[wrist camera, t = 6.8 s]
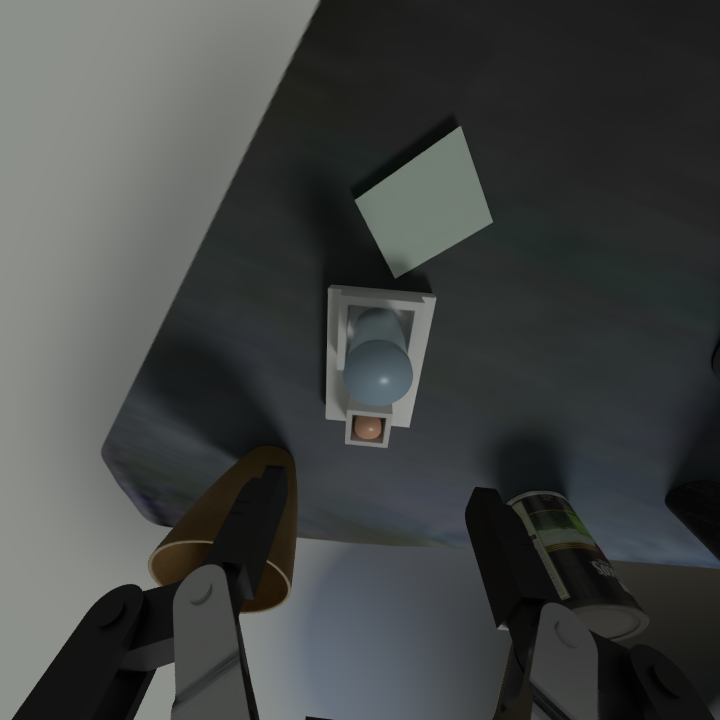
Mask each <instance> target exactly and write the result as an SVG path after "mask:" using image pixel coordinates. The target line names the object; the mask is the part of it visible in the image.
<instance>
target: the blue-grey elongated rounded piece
mask: <svg viewBox="0 0 720 720" xmlns="http://www.w3.org/2000/svg"><path fill="white" fill-rule="evenodd" d="M343 380H344V384H345V387H346V389H347V390H348V392H349V393H350V394H351V395H352V396H353V397H354V398H355V399H357V400H358V401H360V402H362V403H365V404H368V405H374V406H383V405H388V404H392V403H394V402H396V401H398V400H400V399H401V398H402V397H403V396H405V395H406V393H407V392H408V391H409V389H410V387H411V385H412V381H413V370H412V366H411V362H410V359H409V357H408V354H407V350H406V346H405V341H404V337H403V333H402V328H401V324H400V321H399V319H398V318H397V316H396V315H395V314H394V313H393V312H391V311H390V310H388V309H385V308H371V309H369V310H367V311H365V312H363V313H362V314H361V315H360V316H359V318H358V319H357V322H356V325H355V329H354V333H353V337H352V342H351V346H350V350H349V355H348V357H347V359H346V362H345V366H344V370H343Z"/></svg>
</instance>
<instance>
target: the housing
mask: <svg viewBox="0 0 720 720" xmlns="http://www.w3.org/2000/svg"><path fill="white" fill-rule="evenodd" d="M435 302H436V297H435V296H434V295H433V294H432V293H421V292H410V291H399V290H387V289H376V288H365V287H354V286H343V285H332V284H331V286H330V287H329V288H328V327H327V378H326V419H332V420H341V421H346V434H345V444H353V445H363V446H372V447H382V448H387V446H388V440H389V434H390V429H391V426H401V427H409V426H410V421H411V416H412V412H413V407H414V402H415V397H416V393H417V388H418V383H419V378H420V374H421V369H422V364H423V359H424V354H425V350H426V345H427V340H428V335H429V331H430V326H431V321H432V316H433V312H434V307H435ZM371 308H385V309H388V310H390V311H391V312H393V313H394V314H395V315H396V316H397V318H398V319H399V321H400V324H401V328H402V333H403V337H404V341H405V346H406V350H407V354H408V357H409V359H410V362H411V366H412V370H413V381H412V385H411V387H410V389H409V391H408V392H407V393H406V395H405V396H403V397H402V398H401V399H400V400H398V401H396V402H394V403H392V404H388V405H383V406H374V405H368V404H365V403H362V402H360V401H358V400H357V399H355V398H354V397H353V396H352V395H351V394H350V393H349V392H348V390H347V389H346V387H345V384H344V380H343V370H344V366H345V362H346V359H347V357H348V355H349V350H350V346H351V342H352V337H353V333H354V329H355V325H356V322H357V319H358V318H359V316H360V315H361V314H362V313H363V312H365V311H367V310H369V309H371ZM356 415H360V416H370V417H380V418H381V433H380V434H379V436H377V437H376V438H374V439H363V438H361V437H359V436H358V435H357V434H356V432H355V422H356Z"/></svg>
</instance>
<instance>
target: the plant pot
mask: <svg viewBox="0 0 720 720" xmlns="http://www.w3.org/2000/svg"><path fill="white" fill-rule="evenodd" d="M267 465H277V466H285V467H286V470H287V482H288V496H287V501H286V505H285V508H284V511H283V514H282V517H281V520H280V523H279V526H278V529H277V532H276V535H275V538H274V541H273V544H272V547H271V550H270V553H269V556H268V559H267V562H266V565H265V568H264V571H263V574H262V577H261V580H260V583H259V586H258V589H257V592H256V595H255V598H254V600H251V599H245V600H244V603H243V606H242V608H241V611H240V614H247V613H260V612H264V611H268V610H272V609H274V608H276V607H278V606H280V605H282V604H283V603H284V602H285V601H286V600H287V599H288V598H289V596H290V593H291V586H292V577H293V568H294V559H295V549H296V537H297V517H298V498H297V479H296V468H295V462H294V460H293V458H292V456H291V455H290V454H289V453H288V452H287V451H285V450H283V449H282V448H279V447H276V446H271V445H264V446H259V447H257V448H255V449H253V450H252V451H251V452H249V453H248V454H247V455H246V456H244V457H243V458H242V459H241V460H239V461H238V462H237V463H236V464H235V465H234V466H232V467H231V468H230V469H229V470H228V471H227V472H226V473H225V474H224V475H223V476H221V477H220V478H219V479H218V480H217V481H216V482H215V483H214V484H213V485H212V486H211V487H210V488H209V489H208V490H207V491H206V492H205V493H204V494H203V496H202V497H201V498H200V499H199V500H198V501H197V502H196V503H195V504H194V505H193V506H192V507H191V508H190V510H189V511H188V512H187V513H186V514H185V515H184V516H183V517H182V519H181V520H180V521H179V522H178V523H177V524H176V525H175V527H174V528H173V529H172V530H171V532H170V533H169V534H168V535H167V536H166V538H165V539H164V540H163V541H162V542H161V543H160V545H159V546H158V547H157V548H156V550H155V551H154V552H153V553H152V555H151V556H150V558H149V560H148V570H149V573H150V575H151V577H152V578H153V579H154V581H155V582H156V583H157V584H158V585H159V586H160V587H161V586H165V585H169V584H172V583H175V582H178V581H180V580H182V579H184V578H185V577H187V576H188V575H189V574H190V573H192V572H193V571H194V570H196V569H197V568H198V567H199V565H200V564H201V563H202V562H203V560H204V559H205V557H206V555H207V553H208V551H209V549H210V548H211V546H212V544H213V542H214V540H215V538H216V536H217V534H218V532H219V530H220V528H221V526H222V525H223V523H224V521H225V519H226V517H227V515H228V514H229V511H230V509H231V507H232V505H233V503H235V500H236V498H237V496H238V494H239V492H240V490H241V488H242V487H243V486H244V485H245V484H246V483H247V482H248V481H249V480H250V479H251V478H252V477H257V478H261V477H262V474H263V472H264V470H265V468H266V466H267Z"/></svg>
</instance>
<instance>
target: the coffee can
mask: <svg viewBox="0 0 720 720" xmlns="http://www.w3.org/2000/svg"><path fill="white" fill-rule="evenodd" d="M506 505H510V506H511V507H512V508H513V509H514V510H515V511H516V513H517V514H518V515H519V516H520V517H521V519H522V521H523V523H524V525H525V527H526V529H527V531H528V535H529V536H530V537H531V539H532V541H533V543H534V545H535V549H537V551H538V553H539V555H540V557H541V559H542V561H543V563H544V565H545V567H546V569H547V572H548V574H549V576H550V578H551V580H552V582H553V584H554V586H555V588H556V590H557V592H558V594H559V596H560V598H561V600H562V601H563V603H564V604H565V606H566V607H567V608H568V609H569V610H571V611H572V612H573V613H575V614H576V615H577V616H578V617H579V618H580V619H581V621H582V622H583V623H584V624H585V625H586V627H587V628H588V629H590V630H591V631H593V632H595V633H596V634H598V635H600V636H603V637H605V638H607V639H609V640H611V641H613V642H617V641H620V640H625V639H627V638H630V637H633V636H635V635H637V634H639V633H640V632H642V631H643V630H644V629H645V628H646V627H647V626H648V624H649V618H648V616H647V614H646V613H645V612H644V610H643V609H642V608H641V607H640V606H639V605H638V603H637V602H636V600H635V599H634V597H633V596H632V595H631V593H630V592H629V590H628V589H627V587H626V586H625V585H624V583H623V582H622V580H621V579H620V577H619V576H618V574H617V573H616V572H615V570H614V568H613V567H612V566H611V564H610V563H609V561H608V560H607V558H606V557H605V555H604V554H603V552H602V551H601V550H600V548H599V547H598V545H597V544H596V542H595V541H594V539H593V538H592V536H591V535H590V534H589V532H588V531H587V529H586V528H585V526H584V525H583V523H582V522H581V520H580V519H579V517H578V516H577V515H576V513H575V512H574V510H573V508H572V507H571V506H570V504H569V502H568V500H567V499H566V498H565V497H564V496H562V495H561V494H559V493H556V492H553V491H546V490H538V491H529V492H526V493H523V494H520V495H518V496H516V497H514V498H513V499H511V500H510V501H509V502H508V503H507V504H506Z"/></svg>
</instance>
